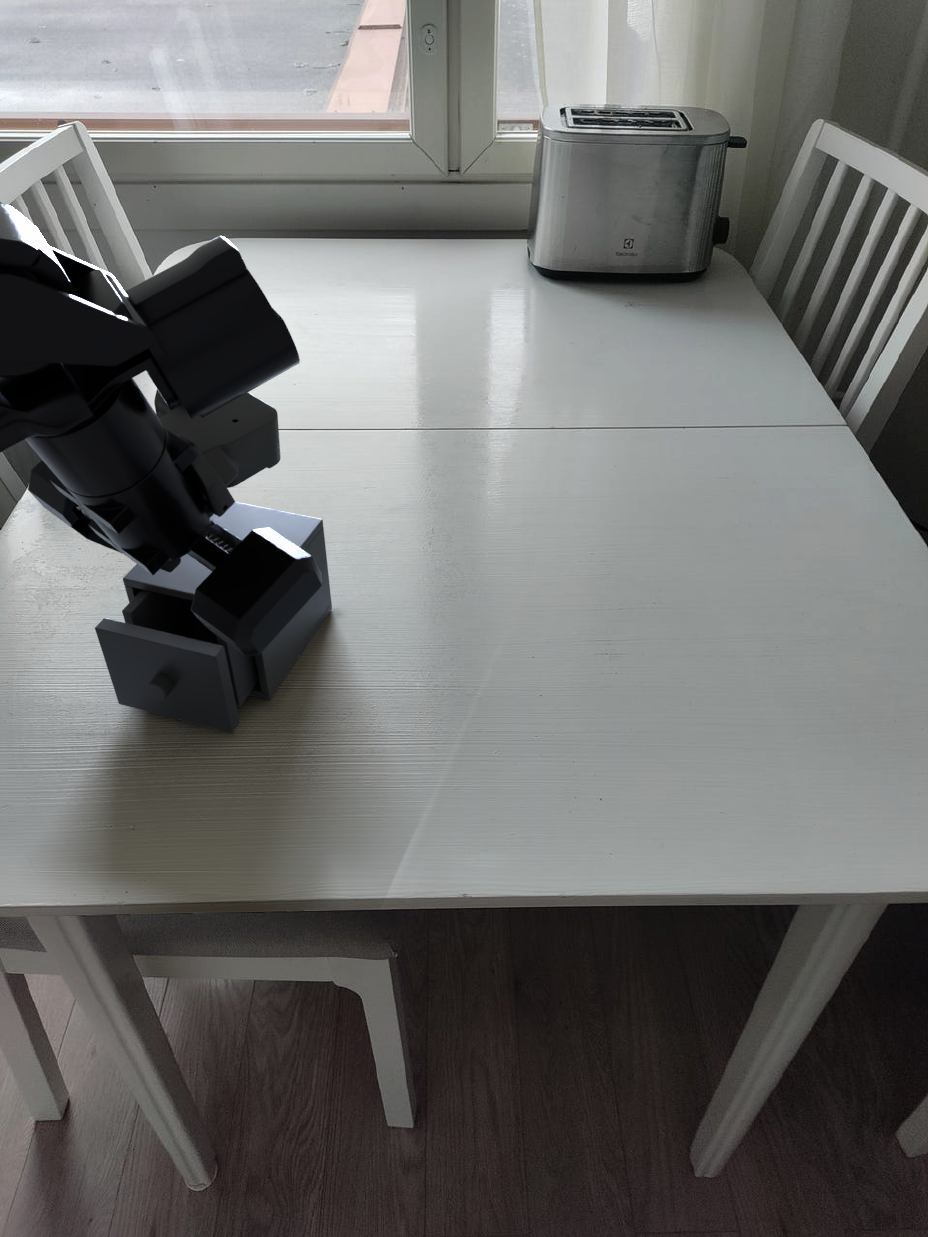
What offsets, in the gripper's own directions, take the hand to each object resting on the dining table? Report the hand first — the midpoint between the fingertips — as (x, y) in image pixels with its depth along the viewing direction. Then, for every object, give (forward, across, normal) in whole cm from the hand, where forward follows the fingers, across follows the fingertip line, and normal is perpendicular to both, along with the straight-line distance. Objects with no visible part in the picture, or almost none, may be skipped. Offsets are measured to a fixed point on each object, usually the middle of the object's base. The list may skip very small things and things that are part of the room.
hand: (222, 600), depth 62 cm
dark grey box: (+17, +8, -2) cm, 19 cm away
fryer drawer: (+14, +6, +3) cm, 16 cm away
